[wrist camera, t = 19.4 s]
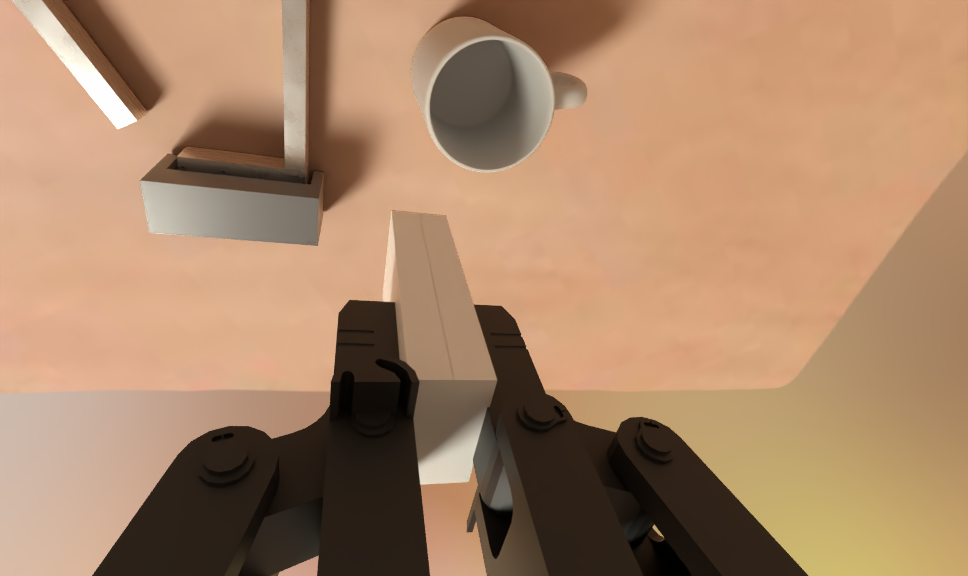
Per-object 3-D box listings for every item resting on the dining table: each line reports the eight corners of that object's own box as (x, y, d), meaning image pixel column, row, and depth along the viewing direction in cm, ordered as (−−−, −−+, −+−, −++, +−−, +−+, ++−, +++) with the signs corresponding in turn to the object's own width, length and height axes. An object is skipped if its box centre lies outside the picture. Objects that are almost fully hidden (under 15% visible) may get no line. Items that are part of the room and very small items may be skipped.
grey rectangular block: (323, 215, 43) (317, 245, 38) (174, 201, 40) (149, 232, 35) (324, 172, 41) (318, 198, 36) (167, 153, 38) (140, 180, 33)
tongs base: (307, 220, 43) (304, 235, 41) (194, 210, 41) (184, 225, 38) (311, -194, 29) (306, -208, 27) (138, -248, 27) (116, -268, 24)
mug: (414, 132, 41) (428, 179, 32) (405, 16, 36) (418, 34, 27) (551, 123, 43) (599, 166, 34) (559, 13, 38) (618, 29, 29)
